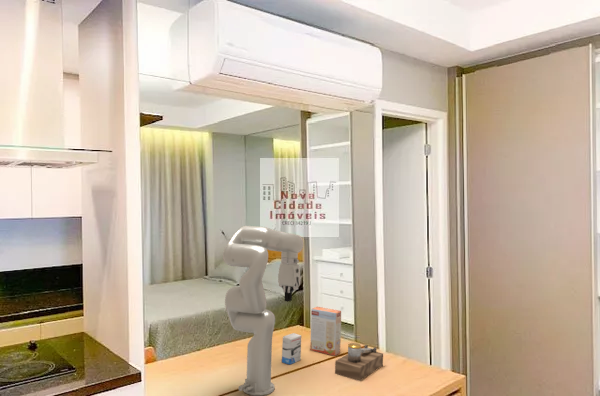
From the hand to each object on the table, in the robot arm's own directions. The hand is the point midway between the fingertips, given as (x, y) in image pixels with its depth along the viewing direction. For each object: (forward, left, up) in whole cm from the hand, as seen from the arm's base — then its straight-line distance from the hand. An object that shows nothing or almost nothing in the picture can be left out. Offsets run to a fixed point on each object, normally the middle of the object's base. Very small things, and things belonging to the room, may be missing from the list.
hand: (288, 300), depth 210 cm
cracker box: (+23, -7, -28) cm, 37 cm away
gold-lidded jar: (+9, -31, -28) cm, 42 cm away
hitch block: (+14, -31, -28) cm, 44 cm away
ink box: (+2, -2, -28) cm, 28 cm away
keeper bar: (+19, -31, -22) cm, 42 cm away
